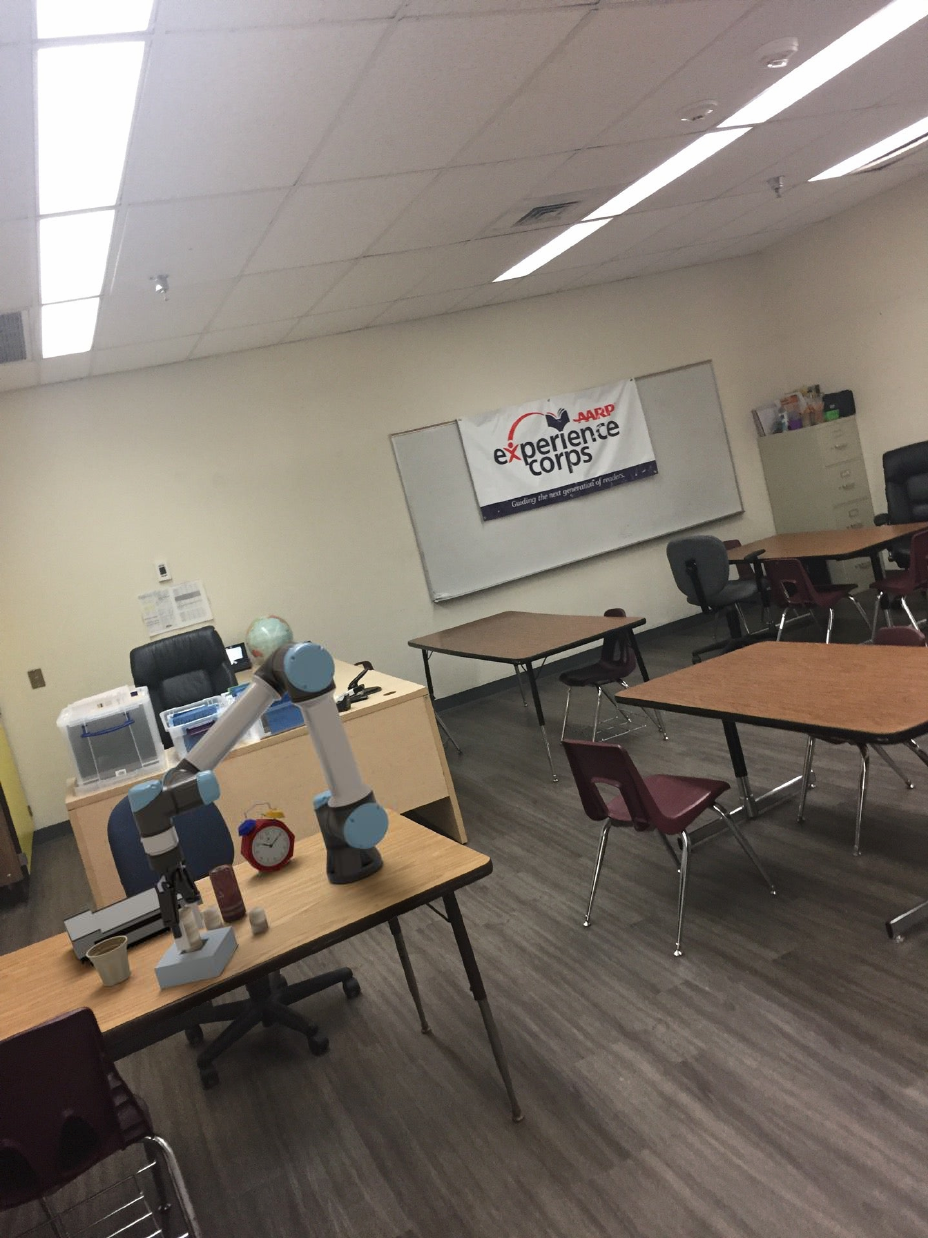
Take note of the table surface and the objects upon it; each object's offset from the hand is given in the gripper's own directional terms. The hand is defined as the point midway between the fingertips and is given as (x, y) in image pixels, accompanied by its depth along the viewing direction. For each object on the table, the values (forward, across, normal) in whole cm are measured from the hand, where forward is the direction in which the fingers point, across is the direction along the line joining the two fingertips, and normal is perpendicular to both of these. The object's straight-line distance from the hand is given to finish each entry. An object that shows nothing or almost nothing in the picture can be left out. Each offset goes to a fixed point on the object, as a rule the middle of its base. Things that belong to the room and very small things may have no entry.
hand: (191, 939), depth 213 cm
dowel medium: (+7, -13, 0) cm, 15 cm away
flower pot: (+7, -3, -22) cm, 23 cm away
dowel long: (+7, 0, 0) cm, 7 cm away
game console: (+8, -30, -28) cm, 42 cm away
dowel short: (+7, -13, +11) cm, 18 cm away
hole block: (+7, 0, 0) cm, 7 cm away
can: (+7, -24, +1) cm, 25 cm away
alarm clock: (+7, -54, +3) cm, 55 cm away
